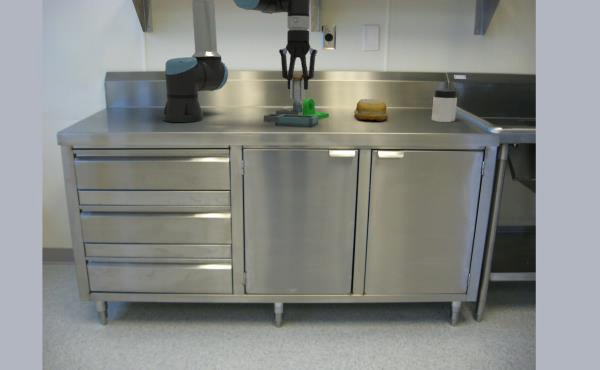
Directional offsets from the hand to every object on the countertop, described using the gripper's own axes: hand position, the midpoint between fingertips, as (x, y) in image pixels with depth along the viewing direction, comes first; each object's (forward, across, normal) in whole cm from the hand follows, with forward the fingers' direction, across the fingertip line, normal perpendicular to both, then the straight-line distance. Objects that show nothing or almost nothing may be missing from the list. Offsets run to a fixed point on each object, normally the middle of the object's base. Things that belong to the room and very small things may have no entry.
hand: (297, 98), depth 177 cm
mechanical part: (+10, +2, +22) cm, 24 cm away
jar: (+10, +51, +31) cm, 60 cm away
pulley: (+9, -10, +21) cm, 25 cm away
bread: (+10, +22, +30) cm, 39 cm away
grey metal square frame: (+9, -11, +9) cm, 17 cm away
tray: (+9, 0, 0) cm, 9 cm away
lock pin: (+5, 0, 0) cm, 5 cm away
